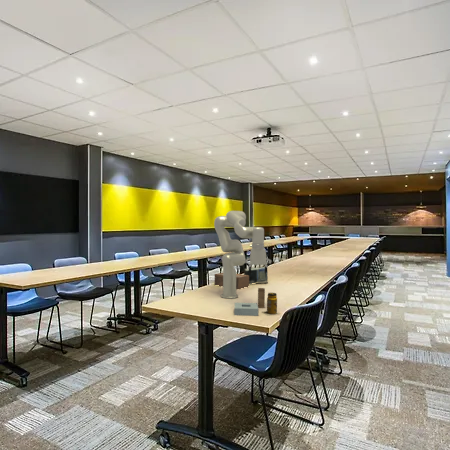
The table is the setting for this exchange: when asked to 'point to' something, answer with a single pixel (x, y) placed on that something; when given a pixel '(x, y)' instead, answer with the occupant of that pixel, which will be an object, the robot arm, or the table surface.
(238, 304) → the socket block
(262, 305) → the peg
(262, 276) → the radio
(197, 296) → the table surface
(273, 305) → the condiment
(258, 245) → the robot arm
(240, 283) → the tissue box cover
